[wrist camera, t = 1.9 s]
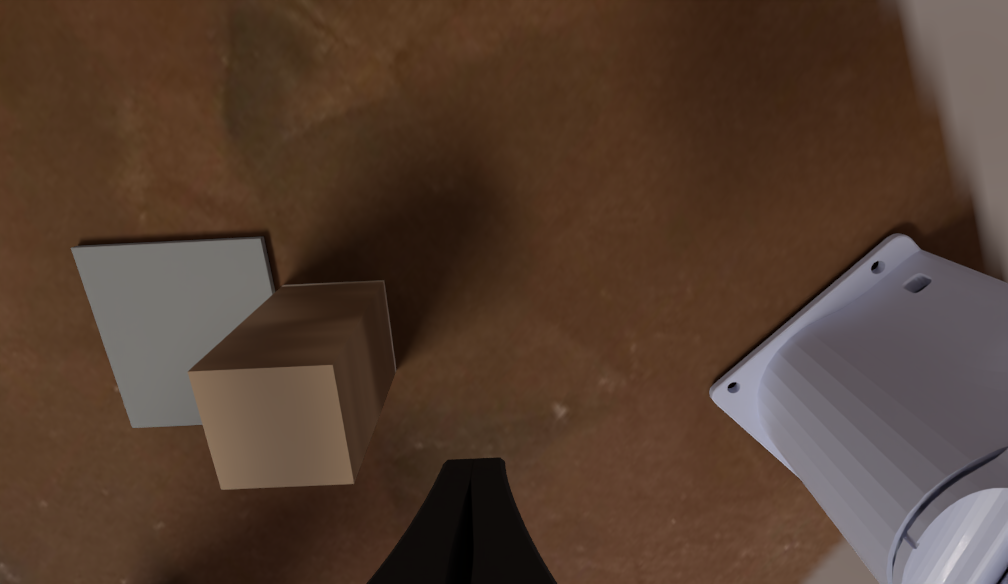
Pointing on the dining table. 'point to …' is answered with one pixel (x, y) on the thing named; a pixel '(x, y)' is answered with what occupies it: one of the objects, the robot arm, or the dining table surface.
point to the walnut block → (298, 386)
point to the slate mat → (169, 314)
